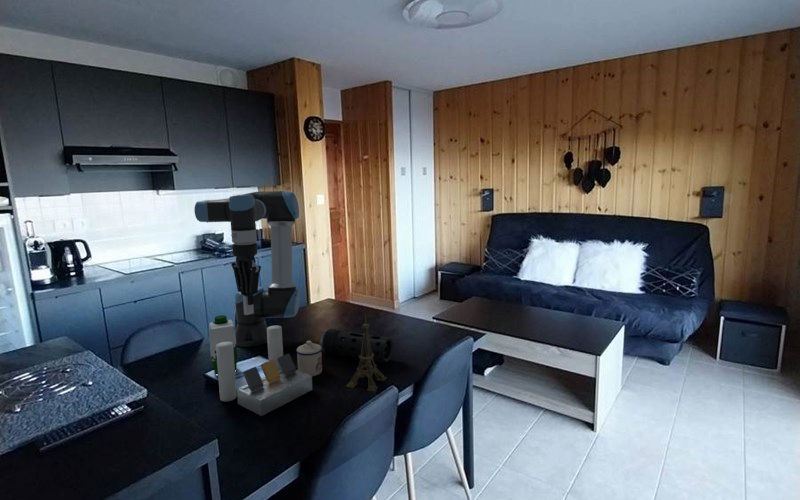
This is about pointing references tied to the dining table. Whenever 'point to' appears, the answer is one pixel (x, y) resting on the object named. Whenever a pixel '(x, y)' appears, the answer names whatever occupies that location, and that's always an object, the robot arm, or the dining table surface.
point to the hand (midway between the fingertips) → (248, 313)
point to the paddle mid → (270, 371)
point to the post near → (226, 371)
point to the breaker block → (274, 392)
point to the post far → (275, 344)
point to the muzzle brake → (355, 344)
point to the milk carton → (221, 337)
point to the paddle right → (286, 364)
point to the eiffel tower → (366, 368)
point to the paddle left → (253, 379)
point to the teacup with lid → (310, 358)
